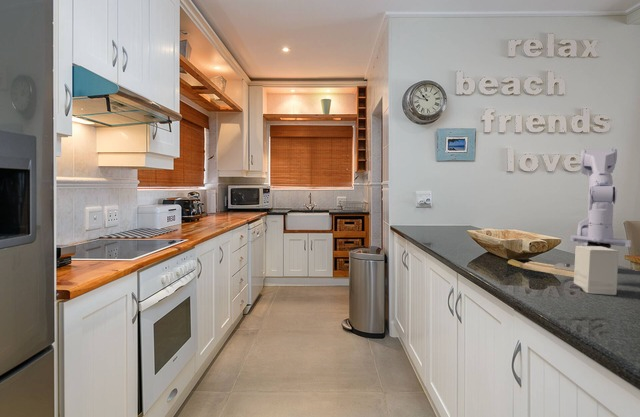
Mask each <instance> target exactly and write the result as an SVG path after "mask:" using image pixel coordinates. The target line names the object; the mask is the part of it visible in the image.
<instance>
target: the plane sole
mask: <svg viewBox="0 0 640 417" xmlns="http://www.w3.org/2000/svg"><path fill="white" fill-rule="evenodd" d="M554 265H555V264H549V263H544V262H537V261H536V262H535V261H530V260H529V261H528V262H527V261H526V262H525V263H524V264H523V265H521V264H520V267H519V268H521V269H524V270H531V271H535V272H542V273H548V274H554V275H561V276H566V277H570V278H571V277H572V278H574V271H570V270H564V269H557V268H554Z"/></svg>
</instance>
